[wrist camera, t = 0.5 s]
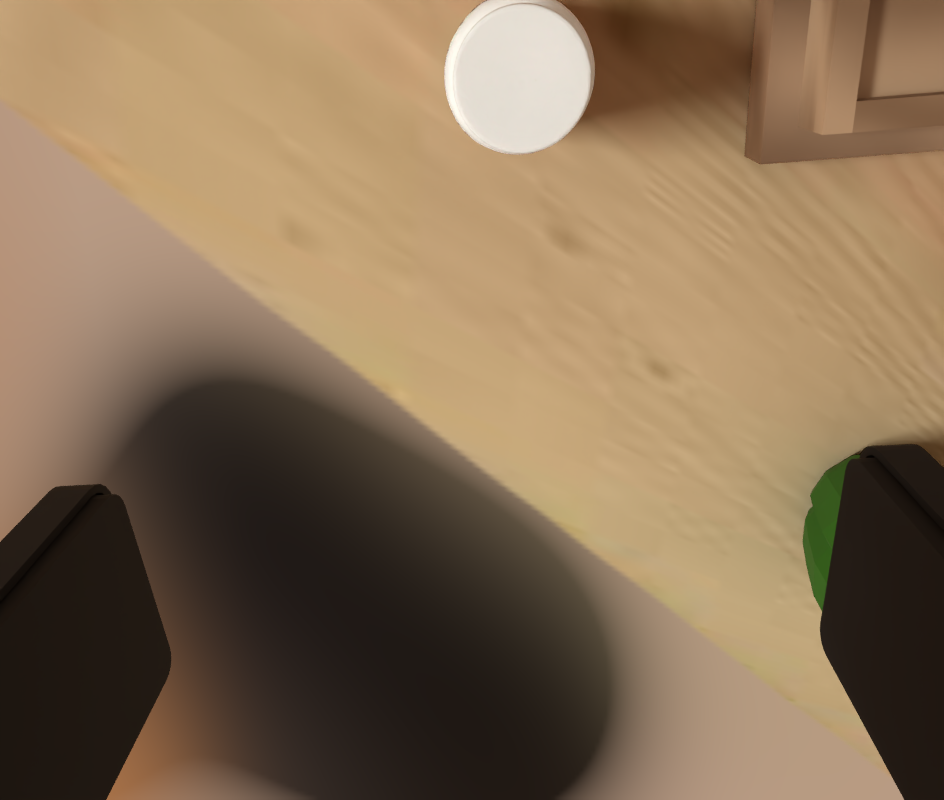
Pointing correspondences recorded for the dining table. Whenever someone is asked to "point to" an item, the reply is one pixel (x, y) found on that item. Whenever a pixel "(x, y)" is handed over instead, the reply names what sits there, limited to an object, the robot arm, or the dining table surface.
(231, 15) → the dining table surface
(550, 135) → the pill bottle
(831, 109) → the plinth
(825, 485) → the bell pepper
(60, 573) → the robot arm
